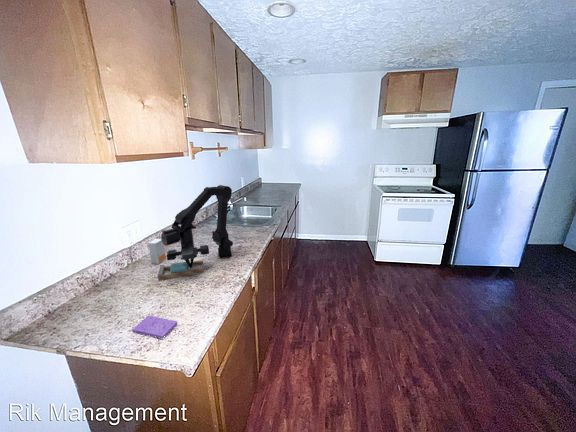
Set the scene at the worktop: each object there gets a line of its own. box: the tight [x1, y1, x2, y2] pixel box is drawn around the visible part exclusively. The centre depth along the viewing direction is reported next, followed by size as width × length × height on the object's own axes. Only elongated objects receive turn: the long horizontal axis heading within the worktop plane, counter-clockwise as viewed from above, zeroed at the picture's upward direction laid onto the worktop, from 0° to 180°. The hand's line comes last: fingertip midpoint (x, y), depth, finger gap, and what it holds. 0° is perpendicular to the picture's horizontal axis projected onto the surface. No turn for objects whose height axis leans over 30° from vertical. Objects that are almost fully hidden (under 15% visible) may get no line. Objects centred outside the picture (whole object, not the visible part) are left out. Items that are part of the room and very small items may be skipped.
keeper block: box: [170, 261, 189, 273], centre depth 114 cm, size 7×5×4 cm
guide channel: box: [157, 259, 205, 282], centre depth 114 cm, size 20×9×3 cm, turn 111°
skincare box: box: [148, 238, 167, 265], centre depth 123 cm, size 6×4×12 cm
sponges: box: [131, 314, 178, 338], centre depth 80 cm, size 7×13×2 cm, turn 75°
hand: (190, 267), depth 116 cm, fingers closed
